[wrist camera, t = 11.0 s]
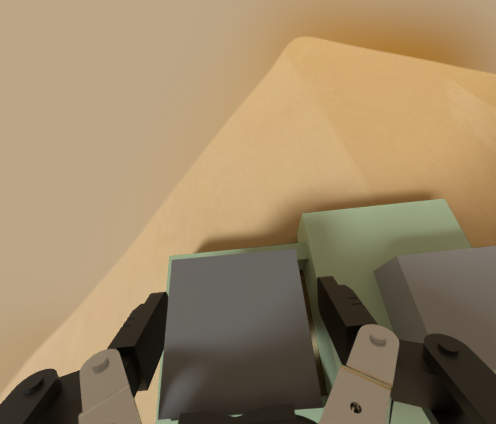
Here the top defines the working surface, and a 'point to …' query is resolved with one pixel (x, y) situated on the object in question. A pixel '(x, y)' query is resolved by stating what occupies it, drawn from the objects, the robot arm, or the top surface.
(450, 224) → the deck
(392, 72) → the top surface
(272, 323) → the tall slate pillar
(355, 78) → the top surface
